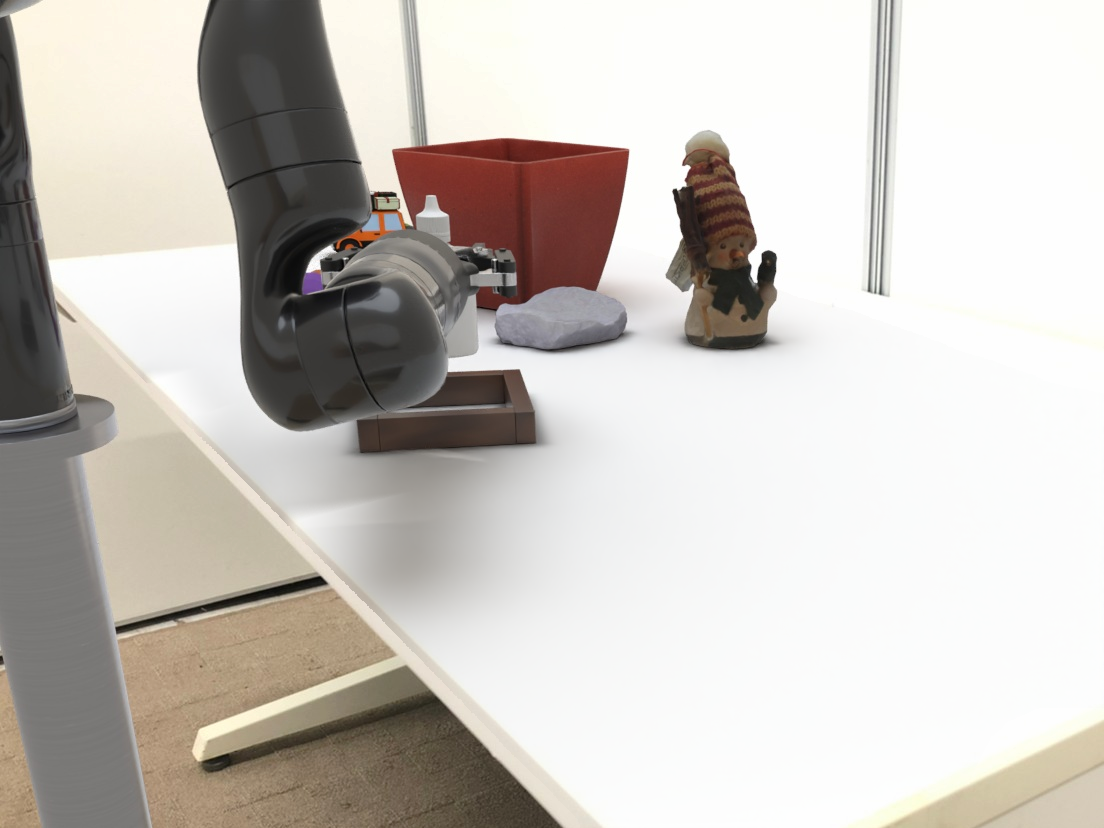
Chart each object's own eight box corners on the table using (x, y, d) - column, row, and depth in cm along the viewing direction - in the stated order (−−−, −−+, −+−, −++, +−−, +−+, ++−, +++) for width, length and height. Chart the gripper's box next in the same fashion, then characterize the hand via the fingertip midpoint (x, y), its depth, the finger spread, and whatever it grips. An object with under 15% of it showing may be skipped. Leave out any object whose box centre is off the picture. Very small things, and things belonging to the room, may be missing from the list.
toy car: (423, 256, 172) (418, 189, 169) (334, 262, 166) (327, 192, 163) (408, 248, 177) (403, 183, 174) (321, 254, 172) (314, 186, 168)
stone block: (634, 348, 133) (559, 317, 136) (640, 305, 130) (563, 275, 134) (565, 376, 123) (486, 342, 127) (570, 330, 121) (489, 297, 125)
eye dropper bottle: (415, 346, 101) (403, 191, 97) (484, 349, 101) (476, 193, 96) (397, 359, 97) (384, 197, 92) (469, 362, 97) (459, 200, 92)
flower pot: (529, 325, 134) (522, 160, 128) (399, 303, 143) (386, 147, 137) (635, 297, 149) (634, 147, 143) (512, 278, 158) (505, 137, 152)
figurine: (632, 345, 127) (629, 135, 119) (671, 320, 138) (671, 127, 130) (762, 356, 124) (767, 141, 116) (791, 330, 135) (798, 132, 127)
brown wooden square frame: (359, 452, 94) (356, 419, 93) (363, 404, 105) (360, 375, 104) (536, 442, 97) (534, 411, 96) (521, 397, 108) (519, 368, 107)
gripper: (509, 239, 82) (531, 207, 98) (282, 236, 81) (341, 205, 97) (515, 353, 85) (535, 304, 100) (296, 352, 84) (350, 303, 99)
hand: (439, 256), depth 98 cm, fingers closed on eye dropper bottle, 5 cm apart
